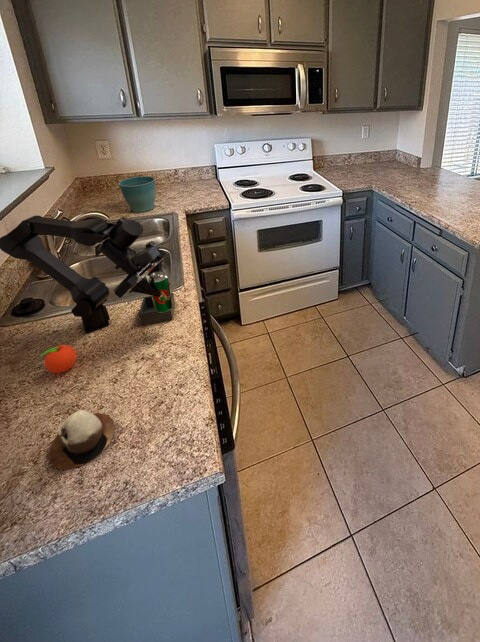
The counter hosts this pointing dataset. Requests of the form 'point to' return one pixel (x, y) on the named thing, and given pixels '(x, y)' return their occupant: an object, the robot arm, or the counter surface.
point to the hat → (81, 439)
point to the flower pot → (139, 193)
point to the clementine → (60, 358)
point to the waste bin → (154, 312)
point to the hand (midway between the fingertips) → (164, 290)
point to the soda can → (161, 291)
